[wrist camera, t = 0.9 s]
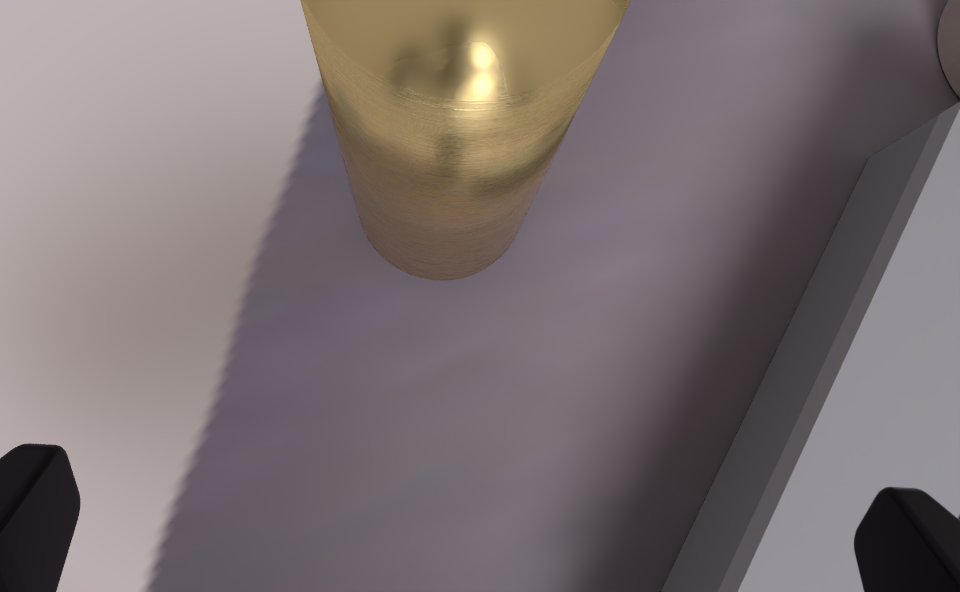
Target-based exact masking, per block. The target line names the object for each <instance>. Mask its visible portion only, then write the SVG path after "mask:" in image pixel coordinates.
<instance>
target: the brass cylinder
mask: <svg viewBox="0 0 960 592" xmlns="http://www.w3.org/2000/svg"><path fill="white" fill-rule="evenodd" d="M630 1H631V0H301V4H302V8H303V11H304V15H305V18H306V22H307V26H308V30H309V33H310V37H311V41H312V44H313V48H314V52H315V55H316V59H317V63H318V66H319V70H320V74H321V77H322V81H323V85H324V88H325V92H326V96H327V99H328V103H329V107H330V111H331V114H332V118H333V122H334V125H335V129H336V133H337V136H338V140H339V144H340V147H341V151H342V155H343V158H344V162H345V166H346V169H347V173H348V177H349V180H350V184H351V188H352V191H353V195H354V199H355V202H356V206H357V210H358V213H359V217H360V220H361V223H362V226H363V229H364V231H365V233H366V235H367V237H368V239H369V240H370V242H371V243H372V245H373V246H374V248H375V249H376V250H377V251H378V252H379V253H380V254H381V256H382V257H384V258H385V259H386V260H387V261H388V262H389V263H391V264H392V265H394V266H395V267H397V268H398V269H400V270H402V271H404V272H406V273H409V274H411V275H414V276H417V277H420V278H426V279H431V280H453V279H458V278H463V277H466V276H469V275H472V274H475V273H477V272H479V271H481V270H483V269H485V268H486V267H488V266H489V265H491V264H492V263H494V262H495V261H496V260H497V259H498V258H499V257H500V256H501V255H502V254H503V253H504V252H505V251H506V250H507V249H508V247H509V246H510V244H511V243H512V241H513V240H514V238H515V236H516V234H517V232H518V230H519V228H520V226H521V224H522V221H523V219H524V217H525V215H526V213H527V211H528V209H529V207H530V205H531V203H532V201H533V199H534V197H535V195H536V193H537V191H538V189H539V187H540V185H541V183H542V181H543V179H544V177H545V175H546V172H547V170H548V168H549V166H550V164H551V162H552V160H553V158H554V156H555V154H556V152H557V150H558V148H559V146H560V144H561V142H562V140H563V138H564V136H565V134H566V132H567V130H568V128H569V125H570V123H571V121H572V119H573V117H574V115H575V113H576V111H577V109H578V107H579V105H580V103H581V101H582V99H583V97H584V95H585V93H586V91H587V89H588V87H589V85H590V83H591V81H592V79H593V76H594V74H595V72H596V70H597V68H598V66H599V64H600V62H601V60H602V58H603V56H604V54H605V52H606V50H607V48H608V46H609V44H610V42H611V40H612V38H613V36H614V34H615V32H616V29H617V27H618V25H619V23H620V21H621V19H622V17H623V15H624V13H625V11H626V9H627V7H628V5H629V3H630Z"/></svg>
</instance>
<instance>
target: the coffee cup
mask: <svg viewBox="0 0 960 592" xmlns="http://www.w3.org/2000/svg"><path fill="white" fill-rule="evenodd" d="M937 42H938V53H939V58H940V61H941V65H942V68H943V71H944V73H945V76H946V78H947V80H948V81H949V83H950V85H951V87H952V88H953V90H954V91H955V93H956V94H957V95H958V96H959V98H960V0H949V1H948V2H947V4H946V6H945V8H944V10H943V12H942V15H941V18H940V22H939V27H938V37H937Z"/></svg>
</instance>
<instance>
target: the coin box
mask: <svg viewBox="0 0 960 592" xmlns="http://www.w3.org/2000/svg"><path fill="white" fill-rule="evenodd" d="M885 487H904V488H917V489H920V490H923V491H924V492H926V493H927V494H929V495H930V496H931V497H933V498H934V499H935V500H936V501H937V502H939V503H940V504H941V505H942V506H943V507H945V508H946V509H947V510H948V511H949V512H951V513H952V514H953V515H954V516H955V517H957V518H958V517H959V515H960V102H958V103H957V104H955V105H954V106H952V107H950V108H949V109H947V110H945V111H944V112H942V113H941V114H939V115H937V116H936V117H934V118H932V119H931V120H929V121H928V122H926V123H924V124H923V125H921V126H919V127H918V128H916V129H915V130H913V131H911V132H910V133H908V134H906V135H905V136H903V137H902V138H900V139H898V140H897V141H895V142H893V143H892V144H890V145H888V146H887V147H885V148H884V149H882V150H880V151H879V152H877V153H875V154H874V155H872V156H871V157H869V158H868V160H867V163H866V165H865V167H864V169H863V171H862V173H861V175H860V177H859V179H858V181H857V183H856V185H855V188H854V190H853V192H852V194H851V196H850V198H849V200H848V202H847V204H846V206H845V208H844V210H843V213H842V215H841V217H840V219H839V221H838V223H837V225H836V227H835V229H834V231H833V233H832V236H831V238H830V240H829V242H828V244H827V246H826V248H825V250H824V252H823V254H822V256H821V258H820V261H819V263H818V265H817V267H816V269H815V271H814V273H813V275H812V277H811V279H810V281H809V284H808V286H807V288H806V290H805V292H804V294H803V296H802V298H801V300H800V302H799V304H798V306H797V309H796V311H795V313H794V315H793V317H792V319H791V321H790V323H789V325H788V327H787V329H786V331H785V334H784V336H783V338H782V340H781V342H780V344H779V346H778V348H777V350H776V352H775V354H774V357H773V359H772V361H771V363H770V365H769V367H768V369H767V371H766V373H765V375H764V377H763V379H762V382H761V384H760V386H759V388H758V390H757V392H756V394H755V396H754V398H753V400H752V402H751V404H750V407H749V409H748V411H747V413H746V415H745V417H744V419H743V421H742V423H741V425H740V427H739V430H738V432H737V434H736V436H735V438H734V440H733V442H732V444H731V446H730V448H729V450H728V452H727V455H726V457H725V459H724V461H723V463H722V465H721V467H720V469H719V471H718V473H717V475H716V478H715V480H714V482H713V484H712V486H711V488H710V490H709V492H708V494H707V496H706V498H705V500H704V503H703V505H702V507H701V509H700V511H699V513H698V515H697V517H696V519H695V521H694V523H693V525H692V528H691V530H690V532H689V534H688V536H687V538H686V540H685V542H684V544H683V546H682V548H681V551H680V553H679V555H678V557H677V559H676V561H675V563H674V565H673V567H672V569H671V571H670V573H669V576H668V578H667V580H666V582H665V584H664V586H663V588H662V590H661V592H864V590H863V586H862V581H861V577H860V573H859V569H858V565H857V560H856V556H855V551H854V536H855V532H856V529H857V527H858V526H859V524H860V522H861V521H862V519H863V517H864V515H865V514H866V512H867V510H868V509H869V507H870V505H871V504H872V502H873V500H874V498H875V497H876V495H877V494H878V492H879V491H880V490H882V489H884V488H885Z"/></svg>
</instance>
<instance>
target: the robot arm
mask: <svg viewBox="0 0 960 592" xmlns="http://www.w3.org/2000/svg"><path fill="white" fill-rule="evenodd" d="M79 511H80V495H79V491H78V487H77V485H76V481H75V478H74V475H73V472H72V469H71V465H70V462H69V459H68V456H67V454H66V451H65V450H64V449H63V448H62V447H60V446H57V445H45V444H23V445H20V446H18V447H15V448H14V449H12V450H11V451H9V452H8V453H7V454H6V455H4V456H3V457H1V458H0V592H56V590H57V587H58V583H59V580H60V577H61V574H62V570H63V567H64V564H65V560H66V557H67V553H68V550H69V547H70V543H71V540H72V537H73V534H74V530H75V527H76V524H77V520H78V516H79ZM854 551H855V556H856V560H857V565H858V569H859V573H860V577H861V581H862V586H863V590H864V592H960V520H959V519H958V518H957V517H955V516H954V515H953V514H952V513H951V512H949V511H948V510H947V509H946V508H945V507H943V506H942V505H941V504H940V503H939V502H937V501H936V500H935V499H934V498H933V497H931V496H930V495H929V494H927V493H926V492H924V491H923V490H920V489H917V488H904V487H885V488H884V489H882V490H880V491H879V492H878V494H877V495H876V497H875V498H874V500H873V502H872V504H871V505H870V507H869V509H868V510H867V512H866V514H865V515H864V517H863V519H862V521H861V522H860V524H859V526H858V527H857V529H856V532H855V536H854Z"/></svg>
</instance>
